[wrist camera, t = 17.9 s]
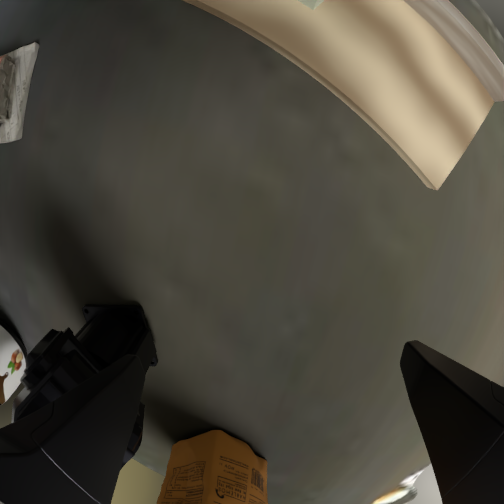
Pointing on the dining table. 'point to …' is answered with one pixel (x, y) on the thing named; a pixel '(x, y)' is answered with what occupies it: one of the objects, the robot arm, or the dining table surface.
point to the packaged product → (15, 90)
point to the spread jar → (10, 361)
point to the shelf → (387, 67)
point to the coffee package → (214, 472)
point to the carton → (311, 3)
